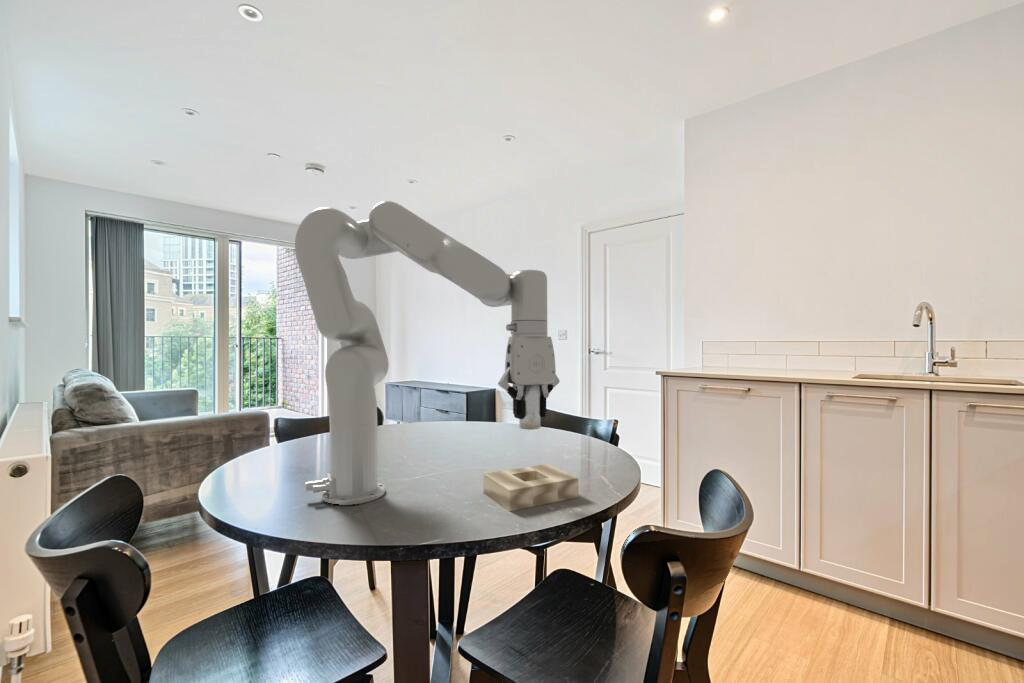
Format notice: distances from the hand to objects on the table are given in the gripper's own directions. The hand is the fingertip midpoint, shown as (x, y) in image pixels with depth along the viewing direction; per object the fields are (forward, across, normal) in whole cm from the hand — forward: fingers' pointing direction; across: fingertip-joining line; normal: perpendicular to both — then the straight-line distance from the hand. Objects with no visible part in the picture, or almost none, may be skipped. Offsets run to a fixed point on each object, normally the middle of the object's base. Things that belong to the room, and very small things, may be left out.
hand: (529, 416), depth 94 cm
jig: (+16, 0, 0) cm, 16 cm away
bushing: (+2, 0, 0) cm, 2 cm away
